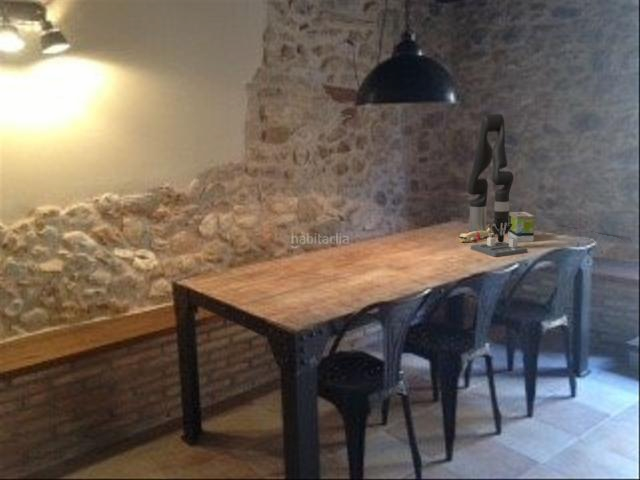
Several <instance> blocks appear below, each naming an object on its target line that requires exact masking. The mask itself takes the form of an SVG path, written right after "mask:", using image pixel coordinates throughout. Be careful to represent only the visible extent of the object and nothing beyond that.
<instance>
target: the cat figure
mask: <svg viewBox="0 0 640 480" xmlns="http://www.w3.org/2000/svg"><path fill="white" fill-rule="evenodd" d="M491 225H492V224H490V223H489V224H487V227H488V228H486V231H473V232H470V231H469V230H468V232H466V233H465V232H464V233H460V234H459V237H458V238H459V239H458V240H459V241H460V243H465V242H467V243H468V242H470V243H471V242H473V240H475V239H477V240H476V241H477V242H478V241H480V240H481V237H482V238H489V236H491V237H493V238H496V237H495V236H496V234H495V233H494V232H490V231H491V230H492V229H491V228H490V226H491Z"/></svg>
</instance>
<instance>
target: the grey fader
mask: <svg viewBox="0 0 640 480" xmlns="http://www.w3.org/2000/svg"><path fill="white" fill-rule="evenodd" d="M508 243H509V247H517V246H518V243H519V242H518V239H515V238H509V239H508Z"/></svg>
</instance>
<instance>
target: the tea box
mask: <svg viewBox="0 0 640 480" xmlns="http://www.w3.org/2000/svg"><path fill="white" fill-rule="evenodd" d="M535 218H536V216H535V215H534V214H532V213H529V212H527V211H509V218H508V220H509V223H510V224H512V226H511V228H510V229H509V231H508V233H507V234H508V235H507V236H508V238H509V239H511V238H515V239H518V243H531V242H534V240H535V239H534V237H535V235H534V234H535V221H536V219H535Z"/></svg>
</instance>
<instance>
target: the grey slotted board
mask: <svg viewBox="0 0 640 480" xmlns="http://www.w3.org/2000/svg"><path fill="white" fill-rule="evenodd" d="M470 250H473V251H476V252H478V253H481V254H485V255H488V256H490V257H493V258H498V257H505V256H513V255H518V254H527V253H528V248H526V247H523V246H520V245H517V247H509V242H505V241H503V242H499V241H495V246H488V245H487V242H486V243H480V244H472V245H470Z"/></svg>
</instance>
